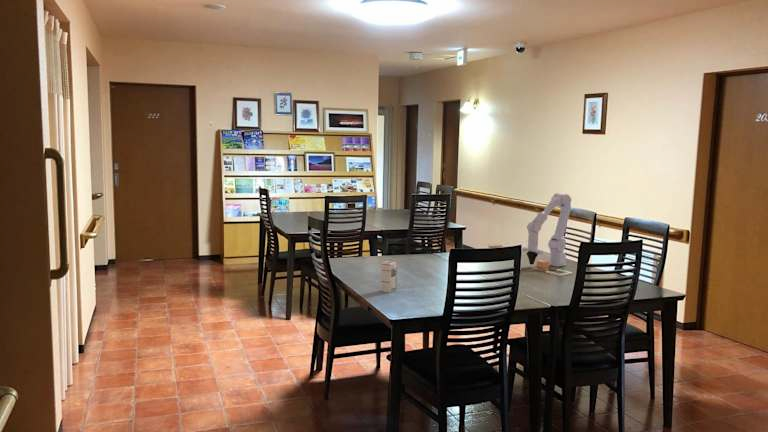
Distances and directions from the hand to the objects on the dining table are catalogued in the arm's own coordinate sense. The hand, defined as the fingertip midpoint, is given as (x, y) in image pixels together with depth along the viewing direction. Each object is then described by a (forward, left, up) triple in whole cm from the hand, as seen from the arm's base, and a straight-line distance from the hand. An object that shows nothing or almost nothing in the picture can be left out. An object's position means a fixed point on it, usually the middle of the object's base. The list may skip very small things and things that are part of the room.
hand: (531, 264), depth 378 cm
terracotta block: (0, +9, -2) cm, 9 cm away
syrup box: (+111, +7, -2) cm, 111 cm away
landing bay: (0, +20, -2) cm, 20 cm away
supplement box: (+19, -12, -2) cm, 23 cm away
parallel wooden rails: (0, +10, -2) cm, 10 cm away
